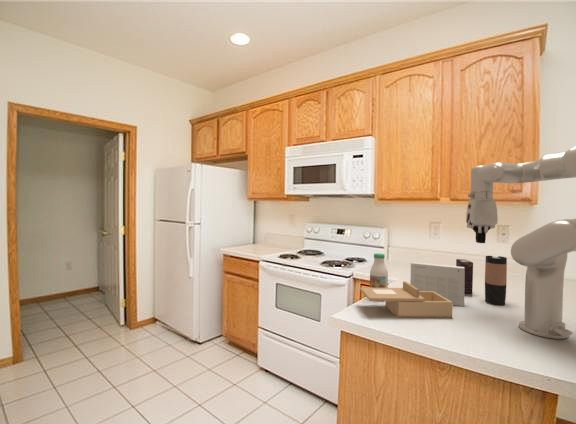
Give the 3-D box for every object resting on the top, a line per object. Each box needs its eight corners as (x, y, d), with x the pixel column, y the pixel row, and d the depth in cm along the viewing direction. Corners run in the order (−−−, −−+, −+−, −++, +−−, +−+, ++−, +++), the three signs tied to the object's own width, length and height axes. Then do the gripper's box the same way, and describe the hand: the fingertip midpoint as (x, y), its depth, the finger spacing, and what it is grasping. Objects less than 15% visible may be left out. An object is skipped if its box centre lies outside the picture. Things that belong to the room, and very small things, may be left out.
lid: (424, 301, 108) (425, 290, 108) (369, 300, 108) (369, 290, 108) (408, 290, 123) (408, 280, 123) (359, 289, 123) (359, 280, 122)
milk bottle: (373, 295, 137) (374, 252, 137) (390, 298, 132) (391, 254, 132) (366, 298, 131) (367, 254, 131) (383, 302, 126) (384, 256, 126)
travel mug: (496, 306, 123) (497, 258, 122) (480, 301, 130) (481, 255, 130) (510, 305, 125) (511, 258, 124) (493, 299, 132) (494, 255, 132)
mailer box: (452, 318, 109) (452, 302, 109) (398, 317, 109) (398, 301, 108) (433, 305, 123) (433, 291, 123) (385, 305, 123) (385, 290, 122)
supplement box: (473, 296, 136) (473, 262, 136) (461, 295, 137) (462, 261, 137) (465, 291, 145) (466, 259, 145) (455, 290, 146) (455, 258, 146)
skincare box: (464, 303, 126) (465, 266, 126) (463, 307, 122) (464, 268, 122) (412, 295, 138) (412, 261, 138) (409, 297, 133) (410, 262, 133)
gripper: (468, 196, 114) (467, 243, 114) (507, 196, 114) (506, 244, 114) (457, 197, 121) (456, 241, 121) (493, 197, 121) (492, 241, 122)
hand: (480, 242), depth 118 cm, fingers closed
